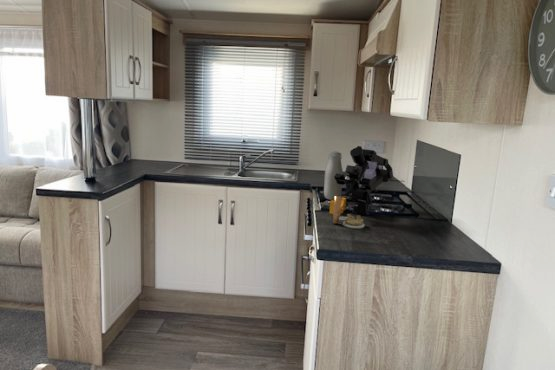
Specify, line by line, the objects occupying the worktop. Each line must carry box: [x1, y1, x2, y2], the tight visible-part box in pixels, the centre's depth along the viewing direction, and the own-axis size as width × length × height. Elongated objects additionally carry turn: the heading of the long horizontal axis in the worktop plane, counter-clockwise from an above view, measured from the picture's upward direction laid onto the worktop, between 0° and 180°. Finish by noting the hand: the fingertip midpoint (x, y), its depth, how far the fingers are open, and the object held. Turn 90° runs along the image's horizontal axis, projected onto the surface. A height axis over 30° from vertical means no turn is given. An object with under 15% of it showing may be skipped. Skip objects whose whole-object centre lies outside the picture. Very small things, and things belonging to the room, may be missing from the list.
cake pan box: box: [362, 161, 384, 179], centre depth 306 cm, size 19×5×18 cm, turn 84°
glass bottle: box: [323, 150, 344, 201], centre depth 227 cm, size 10×10×28 cm
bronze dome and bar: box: [331, 195, 364, 226], centre depth 180 cm, size 14×8×12 cm, turn 83°
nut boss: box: [342, 220, 366, 230], centre depth 180 cm, size 10×10×1 cm
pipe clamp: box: [329, 197, 347, 215], centre depth 203 cm, size 12×4×6 cm, turn 143°
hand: (346, 195), depth 187 cm, fingers closed
